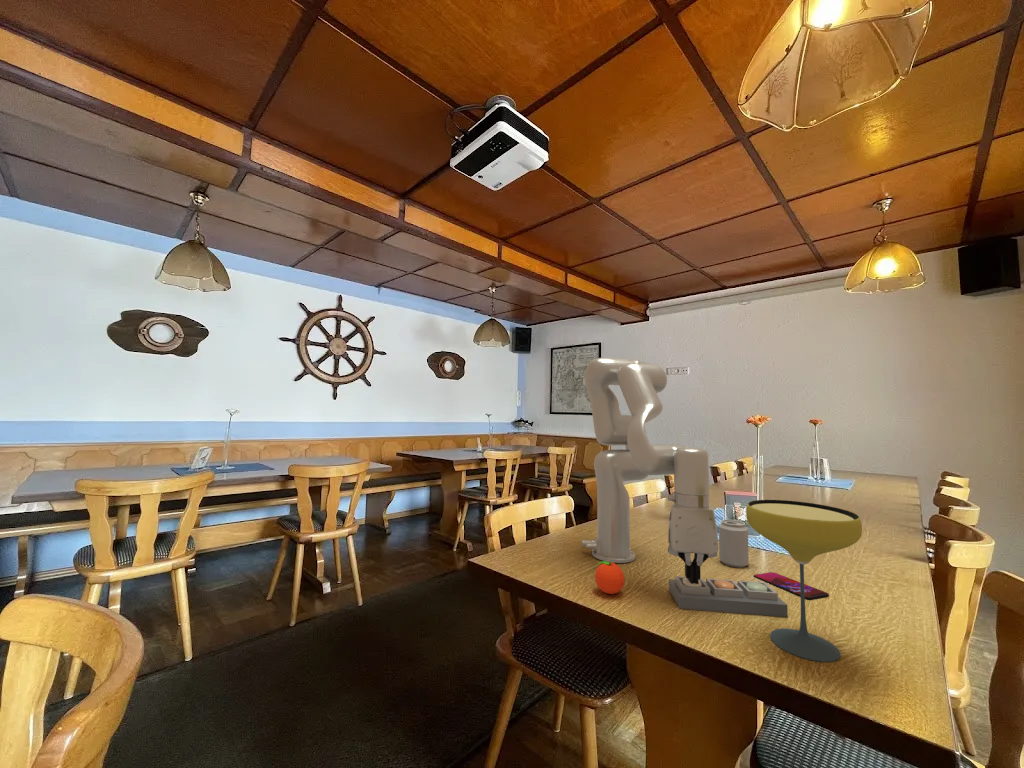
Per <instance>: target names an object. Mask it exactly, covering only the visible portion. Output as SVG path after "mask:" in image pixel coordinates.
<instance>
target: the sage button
mask: <svg viewBox="0 0 1024 768" xmlns="http://www.w3.org/2000/svg"><path fill="white" fill-rule="evenodd" d="M757 582H758V581H752V582H748V583H747V588H748V589H749V590H752V591H766V592H767V587H766V586H765V585H763V584H761V583H757Z"/></svg>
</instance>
